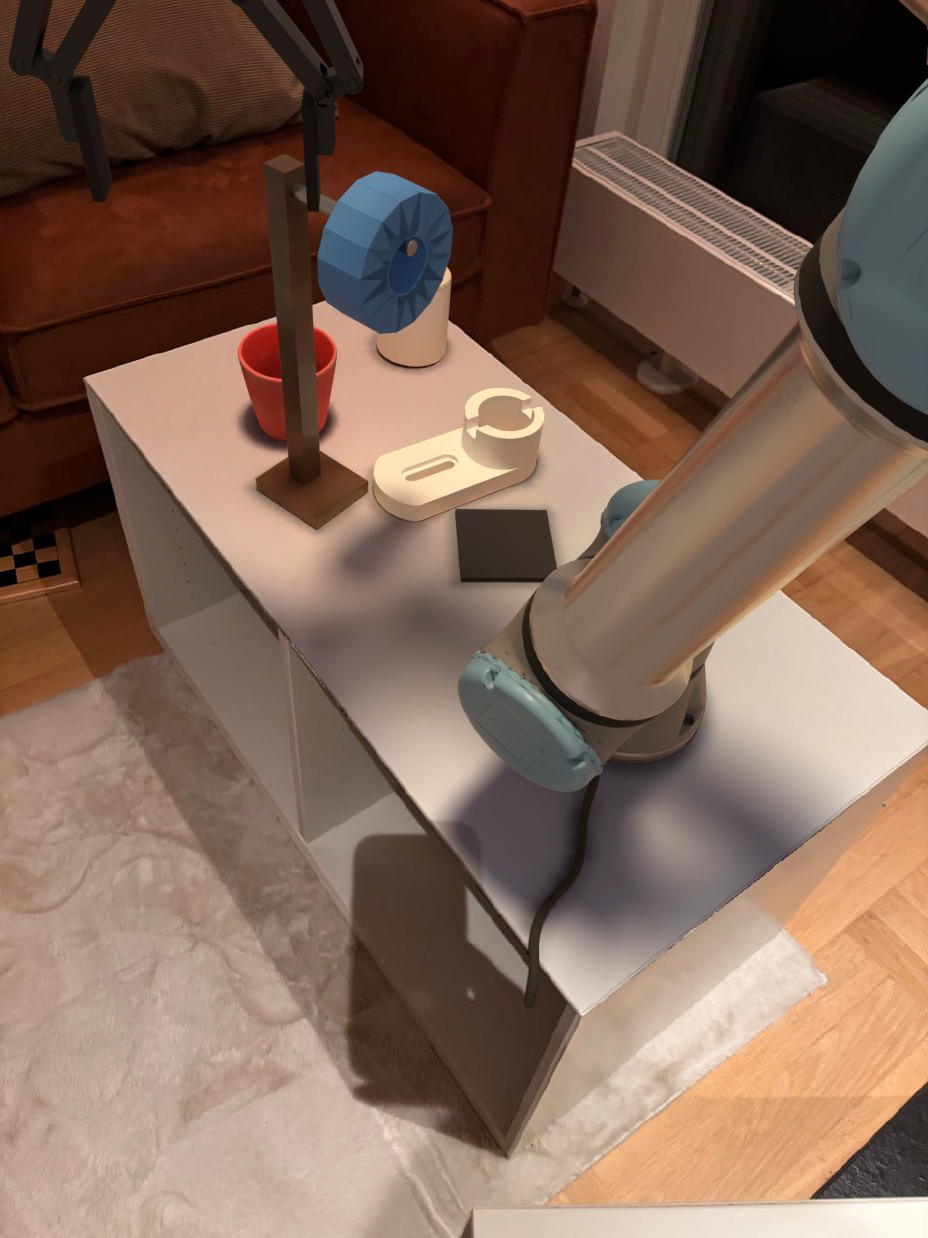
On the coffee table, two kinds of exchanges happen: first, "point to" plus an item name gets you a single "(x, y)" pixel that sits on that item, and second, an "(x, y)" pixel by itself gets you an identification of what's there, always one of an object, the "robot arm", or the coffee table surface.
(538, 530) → the mat
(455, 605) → the coffee table surface
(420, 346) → the beige cylinder
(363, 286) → the tape roll
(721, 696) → the coffee table surface
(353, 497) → the peg stand
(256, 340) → the flower pot
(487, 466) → the bracket
